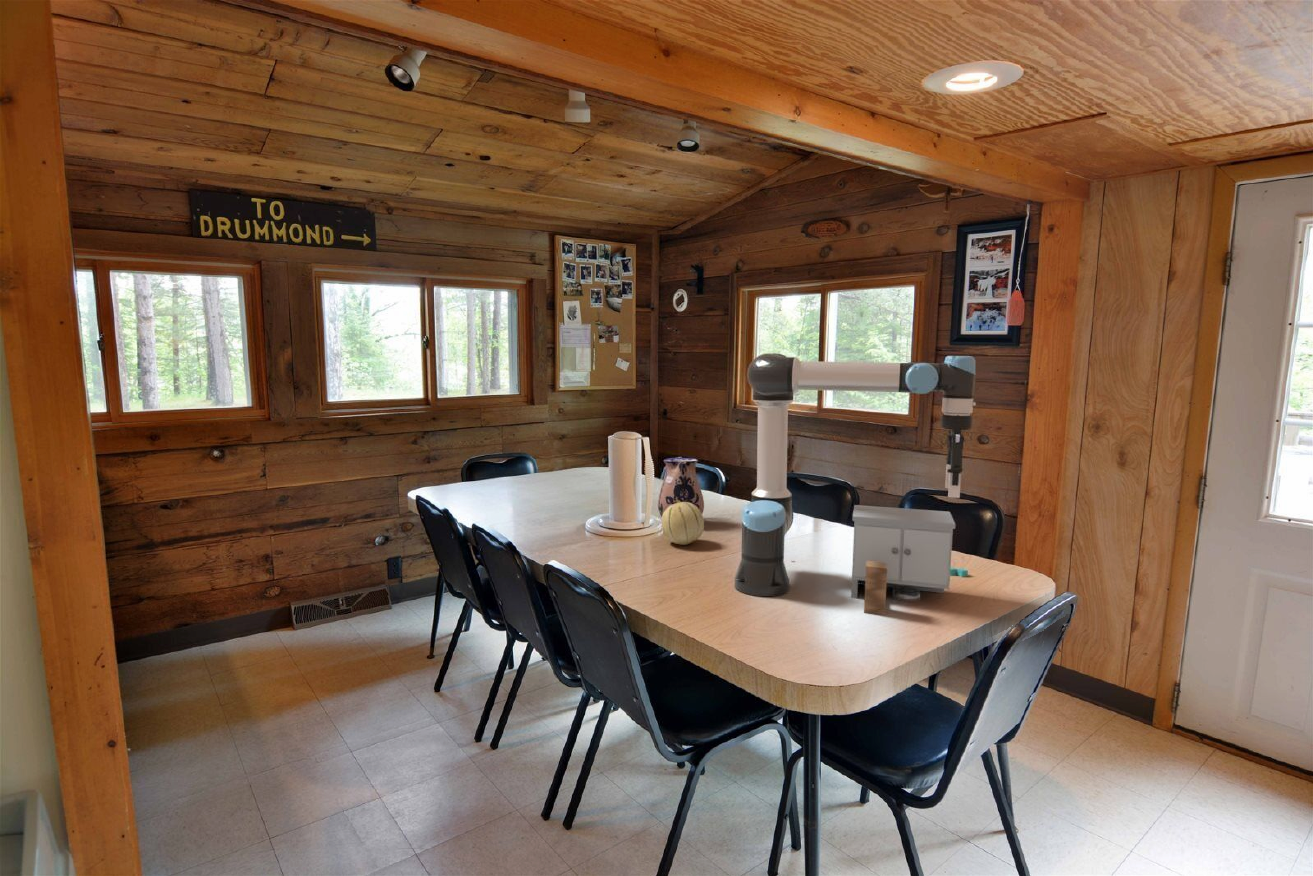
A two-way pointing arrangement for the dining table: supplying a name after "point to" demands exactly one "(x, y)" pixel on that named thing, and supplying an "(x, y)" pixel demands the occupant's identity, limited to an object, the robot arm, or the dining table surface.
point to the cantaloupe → (682, 523)
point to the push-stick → (875, 587)
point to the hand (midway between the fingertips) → (952, 492)
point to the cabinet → (903, 546)
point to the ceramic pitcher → (680, 484)
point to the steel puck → (906, 594)
